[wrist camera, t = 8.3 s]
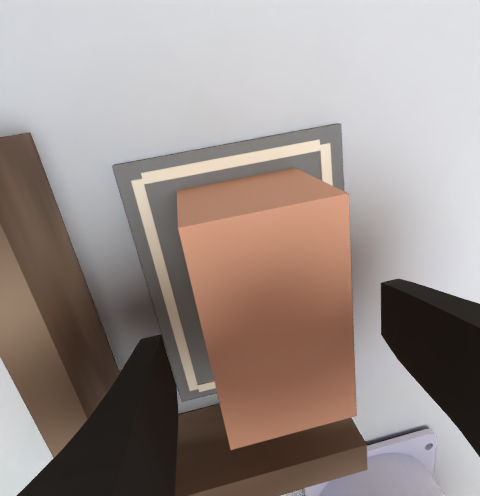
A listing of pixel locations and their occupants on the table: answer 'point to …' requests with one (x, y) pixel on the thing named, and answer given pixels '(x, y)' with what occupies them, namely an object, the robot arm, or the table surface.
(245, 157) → the pad
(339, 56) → the table surface
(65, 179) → the table surface
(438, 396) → the robot arm
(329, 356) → the terracotta block
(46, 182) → the corner wall
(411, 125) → the table surface
